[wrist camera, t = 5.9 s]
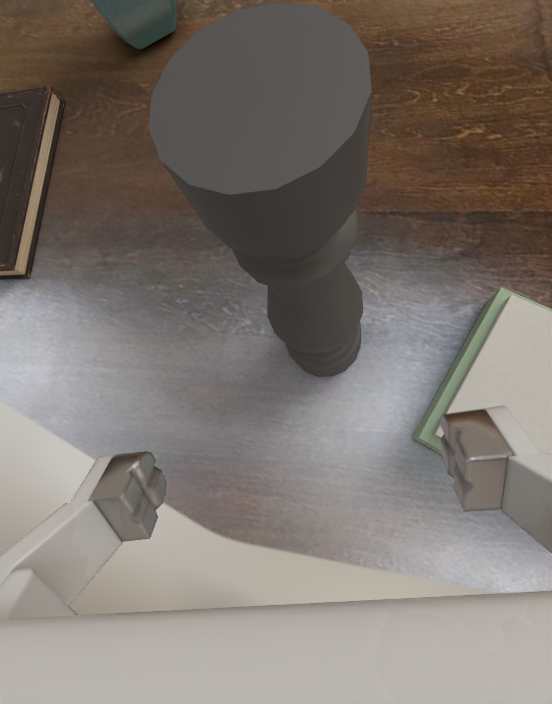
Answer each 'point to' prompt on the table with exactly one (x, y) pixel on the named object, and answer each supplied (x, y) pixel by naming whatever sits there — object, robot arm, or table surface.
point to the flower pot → (139, 19)
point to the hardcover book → (25, 172)
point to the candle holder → (277, 161)
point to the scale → (500, 370)
